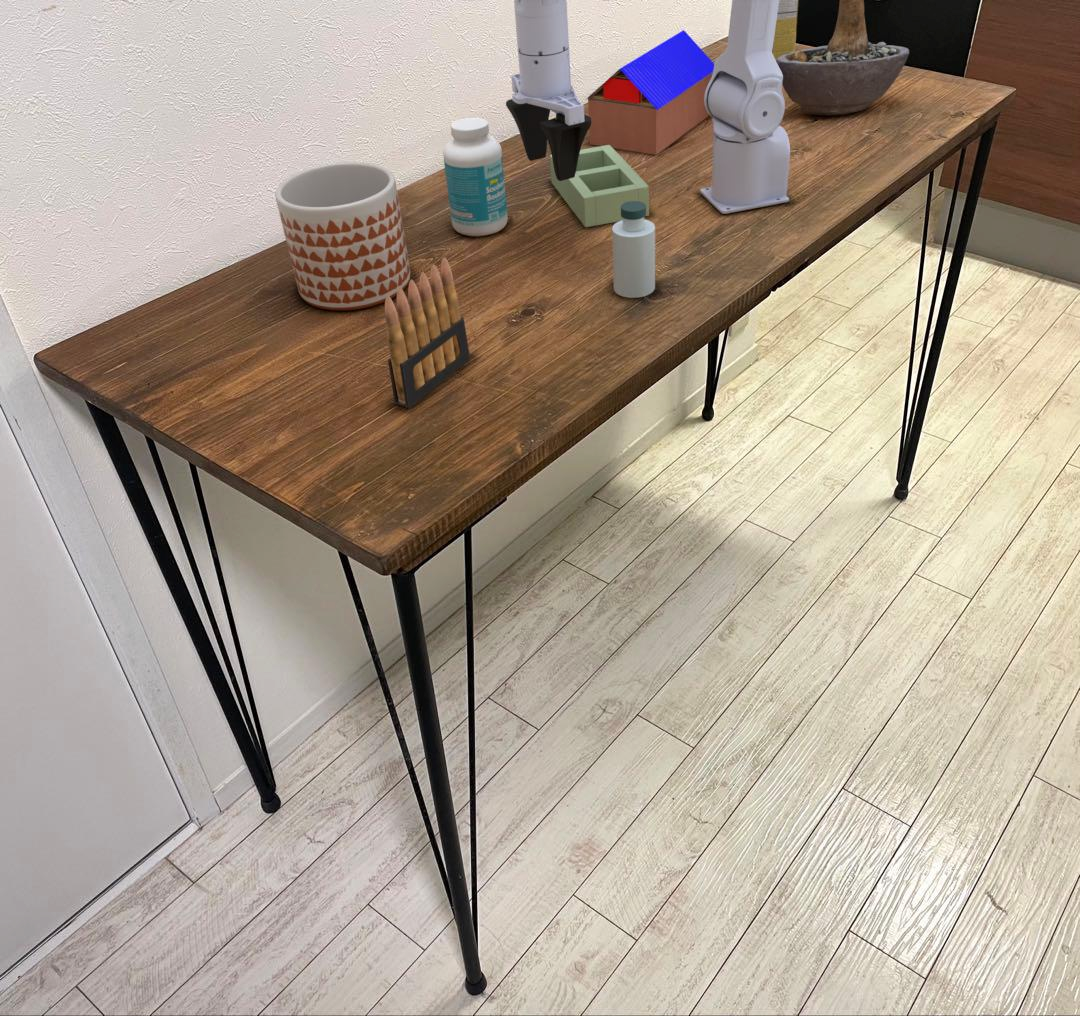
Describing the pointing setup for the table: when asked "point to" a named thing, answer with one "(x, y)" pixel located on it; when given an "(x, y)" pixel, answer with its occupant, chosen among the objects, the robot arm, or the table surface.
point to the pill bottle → (475, 179)
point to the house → (652, 98)
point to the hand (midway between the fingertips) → (551, 168)
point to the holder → (601, 186)
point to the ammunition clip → (425, 336)
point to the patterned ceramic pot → (344, 234)
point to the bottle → (633, 252)
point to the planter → (842, 68)
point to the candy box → (785, 28)
